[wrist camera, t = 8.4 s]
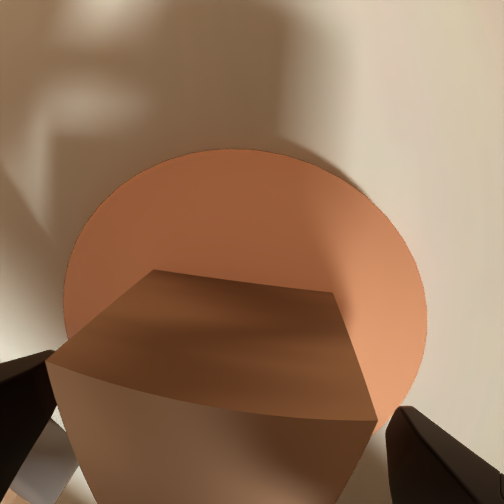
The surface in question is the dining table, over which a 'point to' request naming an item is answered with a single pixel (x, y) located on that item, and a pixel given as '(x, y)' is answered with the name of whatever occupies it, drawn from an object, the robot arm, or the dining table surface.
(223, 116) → the dining table surface
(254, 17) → the dining table surface
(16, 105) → the dining table surface
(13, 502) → the jar
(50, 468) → the grey cylinder
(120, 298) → the walnut block
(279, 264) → the coaster
